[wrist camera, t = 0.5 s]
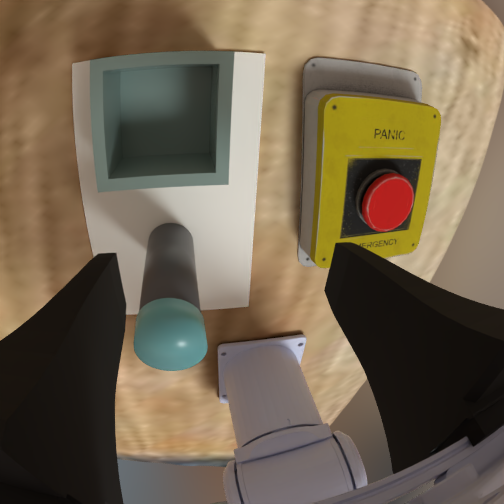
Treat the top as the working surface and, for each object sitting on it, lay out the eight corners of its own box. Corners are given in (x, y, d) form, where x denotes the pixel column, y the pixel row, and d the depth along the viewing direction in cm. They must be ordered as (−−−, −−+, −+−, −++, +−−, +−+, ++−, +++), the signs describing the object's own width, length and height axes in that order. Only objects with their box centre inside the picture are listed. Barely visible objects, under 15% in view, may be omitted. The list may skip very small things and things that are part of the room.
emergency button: (314, 300, 20) (330, 53, 12) (294, 264, 24) (299, 56, 16) (421, 277, 22) (459, 79, 14) (393, 248, 26) (417, 72, 18)
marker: (195, 262, 21) (209, 368, 14) (149, 265, 21) (141, 372, 13) (194, 220, 20) (206, 319, 12) (144, 223, 19) (126, 323, 12)
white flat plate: (248, 304, 25) (248, 306, 24) (109, 313, 22) (109, 315, 22) (264, 53, 15) (265, 53, 15) (73, 63, 13) (72, 63, 13)
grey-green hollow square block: (218, 160, 18) (228, 185, 14) (115, 166, 17) (97, 192, 13) (222, 58, 15) (234, 51, 11) (112, 63, 14) (89, 60, 10)
